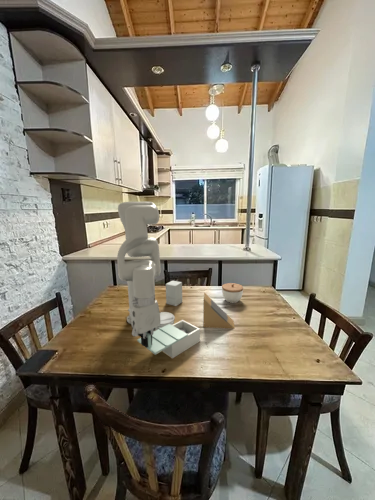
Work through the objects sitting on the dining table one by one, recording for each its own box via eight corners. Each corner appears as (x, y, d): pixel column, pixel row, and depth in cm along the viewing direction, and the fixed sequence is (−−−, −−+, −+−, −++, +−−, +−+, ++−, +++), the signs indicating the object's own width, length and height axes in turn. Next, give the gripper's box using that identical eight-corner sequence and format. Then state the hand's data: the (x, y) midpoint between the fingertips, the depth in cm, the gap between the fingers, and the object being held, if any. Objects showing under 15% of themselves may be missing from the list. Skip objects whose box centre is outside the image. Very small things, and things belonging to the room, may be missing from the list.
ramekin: (166, 336, 105) (166, 325, 104) (147, 329, 111) (146, 319, 110) (179, 324, 115) (179, 315, 114) (160, 319, 120) (160, 310, 119)
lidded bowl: (227, 294, 151) (227, 278, 148) (245, 299, 143) (246, 282, 141) (218, 301, 141) (218, 284, 138) (237, 306, 133) (238, 288, 131)
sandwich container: (235, 329, 111) (236, 300, 107) (203, 327, 112) (203, 298, 109) (233, 320, 119) (234, 292, 116) (203, 318, 121) (204, 291, 117)
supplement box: (182, 301, 141) (182, 282, 138) (175, 306, 135) (175, 286, 132) (173, 299, 145) (172, 280, 142) (165, 303, 139) (165, 283, 136)
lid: (137, 341, 91) (136, 327, 90) (169, 325, 102) (169, 313, 101) (155, 354, 83) (154, 340, 82) (187, 336, 94) (187, 323, 93)
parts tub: (155, 346, 98) (154, 333, 97) (182, 331, 109) (182, 319, 108) (172, 358, 90) (172, 344, 89) (200, 341, 101) (200, 328, 100)
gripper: (131, 309, 76) (134, 359, 79) (167, 296, 86) (169, 340, 90) (120, 302, 81) (123, 349, 85) (155, 290, 91) (157, 332, 95)
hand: (147, 344), depth 87 cm, fingers closed
